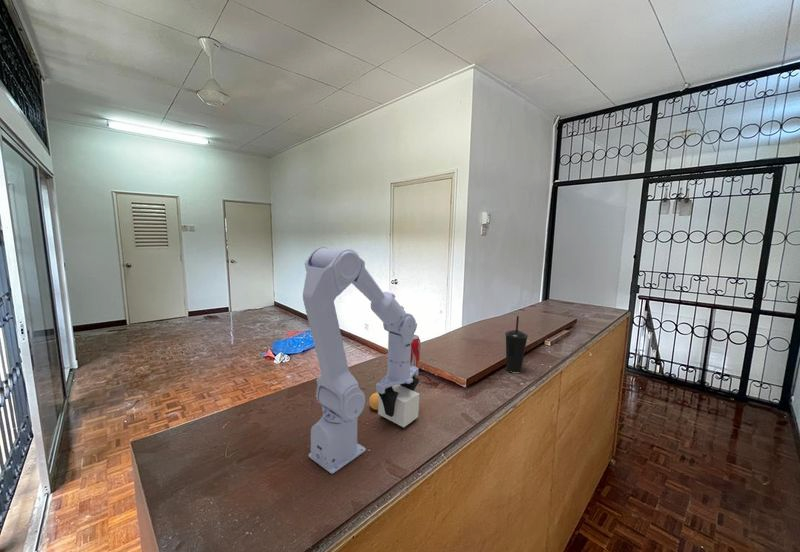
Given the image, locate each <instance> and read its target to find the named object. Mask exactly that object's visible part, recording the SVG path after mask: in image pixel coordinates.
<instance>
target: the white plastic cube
mask: <svg viewBox="0 0 800 552" xmlns="http://www.w3.org/2000/svg"><path fill="white" fill-rule="evenodd" d="M392 389H394V391H396V392H398V393H399V394H398V396H397V398H396V402H395V409H394V415H393V416H392V417H390V416H388V415H386V414H385V410H384V406H383V402H382V400H381V397H380V396H379V404H378V410H377V414H378V415H379V416H381V417H383V418H385V419H387V420H388V421H390V422H393V423H394V424H397V426H400V427H402V428H405V427H407V426H408V425H409V424H411V423H412V422H413V421H414V420H416V419H417V418H419V412H420V410H419V409H420V408H419V407H420V393H419V392H416V391H415V390H414V391H412V390H410V389H408V388H405V387H403V386H401V385H400V384H399V385H395V386H393V387H392Z"/></svg>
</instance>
